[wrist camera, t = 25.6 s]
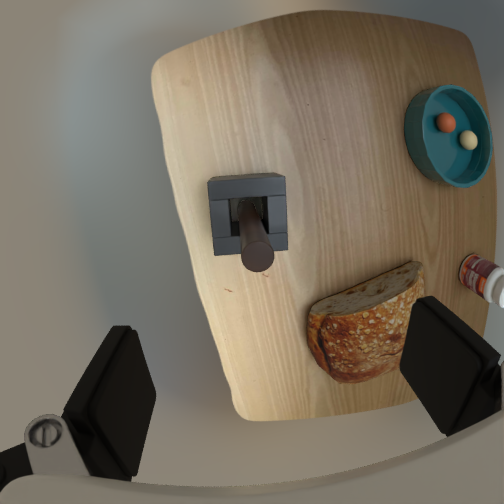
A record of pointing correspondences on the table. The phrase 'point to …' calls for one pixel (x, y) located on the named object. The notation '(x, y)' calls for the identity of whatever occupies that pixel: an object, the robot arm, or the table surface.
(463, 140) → the bead
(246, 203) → the stick
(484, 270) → the pill bottle
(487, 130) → the bowl
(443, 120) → the bead
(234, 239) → the holder
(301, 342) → the table surface
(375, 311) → the bread
